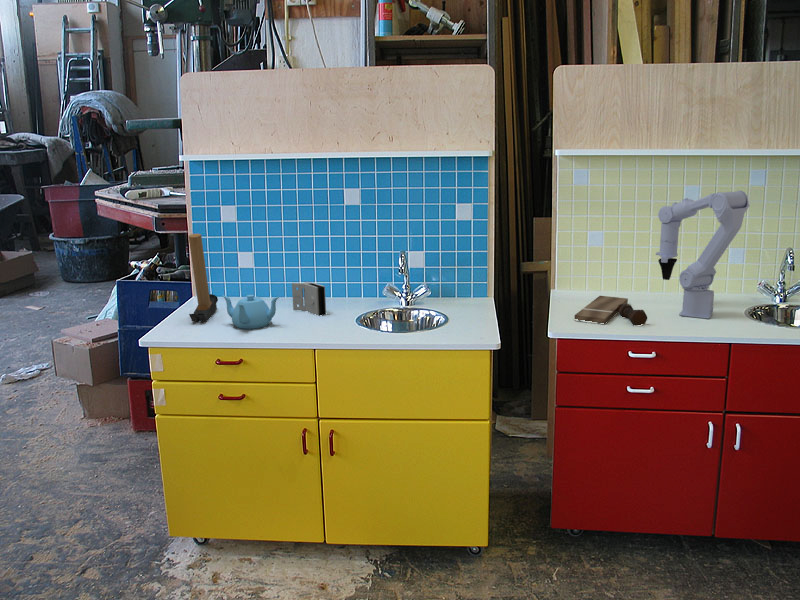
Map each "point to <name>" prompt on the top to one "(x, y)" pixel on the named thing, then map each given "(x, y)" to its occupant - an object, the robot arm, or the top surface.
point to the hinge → (309, 297)
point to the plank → (601, 309)
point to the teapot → (251, 312)
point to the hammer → (201, 281)
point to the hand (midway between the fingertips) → (666, 279)
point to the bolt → (632, 314)
